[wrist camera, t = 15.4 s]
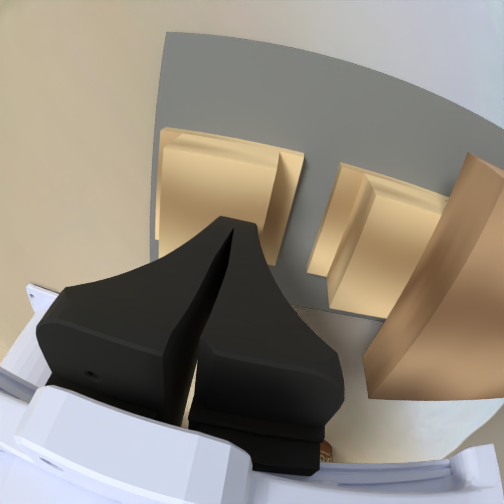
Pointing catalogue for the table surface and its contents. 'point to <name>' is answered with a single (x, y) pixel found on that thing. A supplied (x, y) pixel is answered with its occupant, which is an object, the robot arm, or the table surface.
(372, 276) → the block
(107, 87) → the table surface
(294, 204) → the mat
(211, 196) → the block
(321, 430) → the robot arm
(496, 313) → the slab
